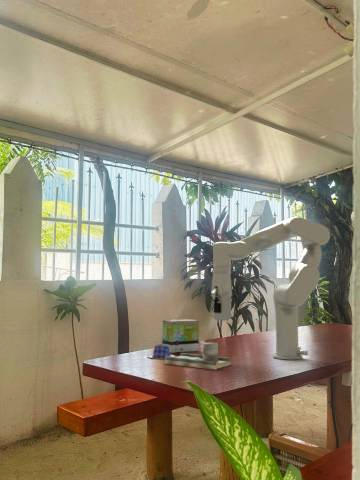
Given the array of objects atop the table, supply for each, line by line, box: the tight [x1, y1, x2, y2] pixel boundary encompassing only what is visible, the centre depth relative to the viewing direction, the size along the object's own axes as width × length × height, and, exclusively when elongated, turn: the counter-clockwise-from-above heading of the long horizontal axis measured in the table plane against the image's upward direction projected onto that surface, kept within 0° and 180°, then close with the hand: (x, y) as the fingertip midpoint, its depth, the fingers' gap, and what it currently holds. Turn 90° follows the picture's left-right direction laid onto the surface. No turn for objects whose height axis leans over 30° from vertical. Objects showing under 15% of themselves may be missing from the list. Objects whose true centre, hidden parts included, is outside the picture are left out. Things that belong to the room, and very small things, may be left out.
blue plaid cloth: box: [147, 344, 176, 360], centre depth 195 cm, size 12×12×5 cm
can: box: [213, 292, 232, 322], centre depth 190 cm, size 8×8×12 cm
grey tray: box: [164, 342, 231, 370], centre depth 177 cm, size 23×12×8 cm, turn 56°
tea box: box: [161, 318, 200, 354], centre depth 215 cm, size 15×10×15 cm
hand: (222, 312), depth 190 cm, fingers closed on can, 7 cm apart
